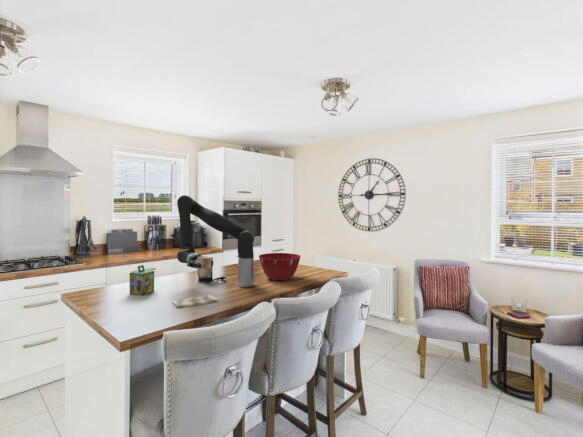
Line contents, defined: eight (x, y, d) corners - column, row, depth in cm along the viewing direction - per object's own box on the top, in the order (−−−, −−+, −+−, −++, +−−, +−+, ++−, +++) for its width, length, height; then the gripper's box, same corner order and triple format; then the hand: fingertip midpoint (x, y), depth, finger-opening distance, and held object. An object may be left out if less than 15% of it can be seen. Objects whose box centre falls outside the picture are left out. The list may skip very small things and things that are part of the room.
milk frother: (195, 280, 196) (195, 257, 195) (217, 277, 207) (218, 255, 206) (205, 285, 185) (205, 261, 185) (228, 281, 196) (228, 258, 195)
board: (211, 296, 163) (211, 294, 163) (217, 301, 156) (218, 299, 156) (172, 303, 151) (172, 300, 151) (177, 308, 144) (177, 306, 144)
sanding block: (206, 274, 162) (207, 255, 161) (210, 277, 157) (211, 257, 156) (197, 275, 159) (197, 256, 158) (201, 278, 154) (201, 258, 153)
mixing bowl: (249, 277, 209) (250, 254, 208) (281, 271, 228) (282, 251, 227) (276, 286, 188) (277, 260, 187) (308, 279, 207) (309, 256, 207)
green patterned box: (143, 295, 162) (144, 268, 162) (128, 294, 164) (128, 266, 163) (155, 291, 171) (155, 264, 171) (140, 289, 173) (140, 263, 172)
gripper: (182, 254, 165) (192, 259, 151) (208, 252, 173) (219, 257, 159) (182, 268, 165) (191, 274, 151) (208, 265, 173) (219, 271, 159)
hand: (206, 265), depth 155 cm, fingers closed on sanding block, 5 cm apart
